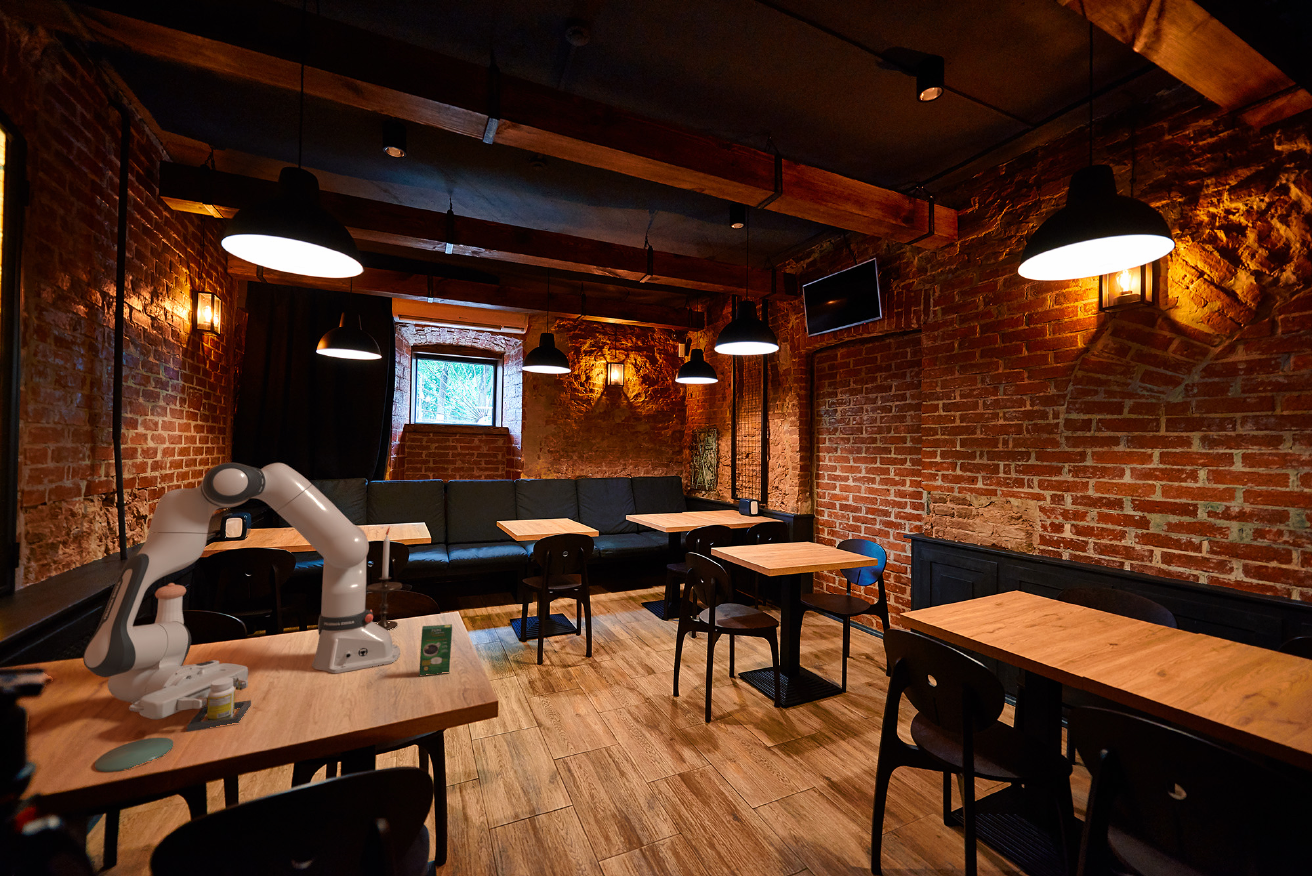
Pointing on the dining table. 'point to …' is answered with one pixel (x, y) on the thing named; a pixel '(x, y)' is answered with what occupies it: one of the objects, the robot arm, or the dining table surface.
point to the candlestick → (385, 587)
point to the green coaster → (133, 754)
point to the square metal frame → (198, 724)
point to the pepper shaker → (170, 603)
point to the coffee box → (435, 649)
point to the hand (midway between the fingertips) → (225, 694)
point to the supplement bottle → (221, 699)
